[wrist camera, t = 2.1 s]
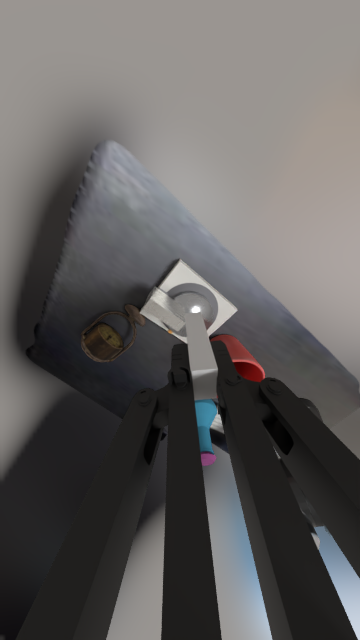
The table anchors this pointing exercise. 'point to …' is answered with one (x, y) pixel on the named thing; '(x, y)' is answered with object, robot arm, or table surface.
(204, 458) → the perfume bottle
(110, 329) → the brown piece
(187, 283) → the dial housing
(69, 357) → the table surface
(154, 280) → the table surface
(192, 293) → the dial
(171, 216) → the table surface
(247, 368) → the flower pot
